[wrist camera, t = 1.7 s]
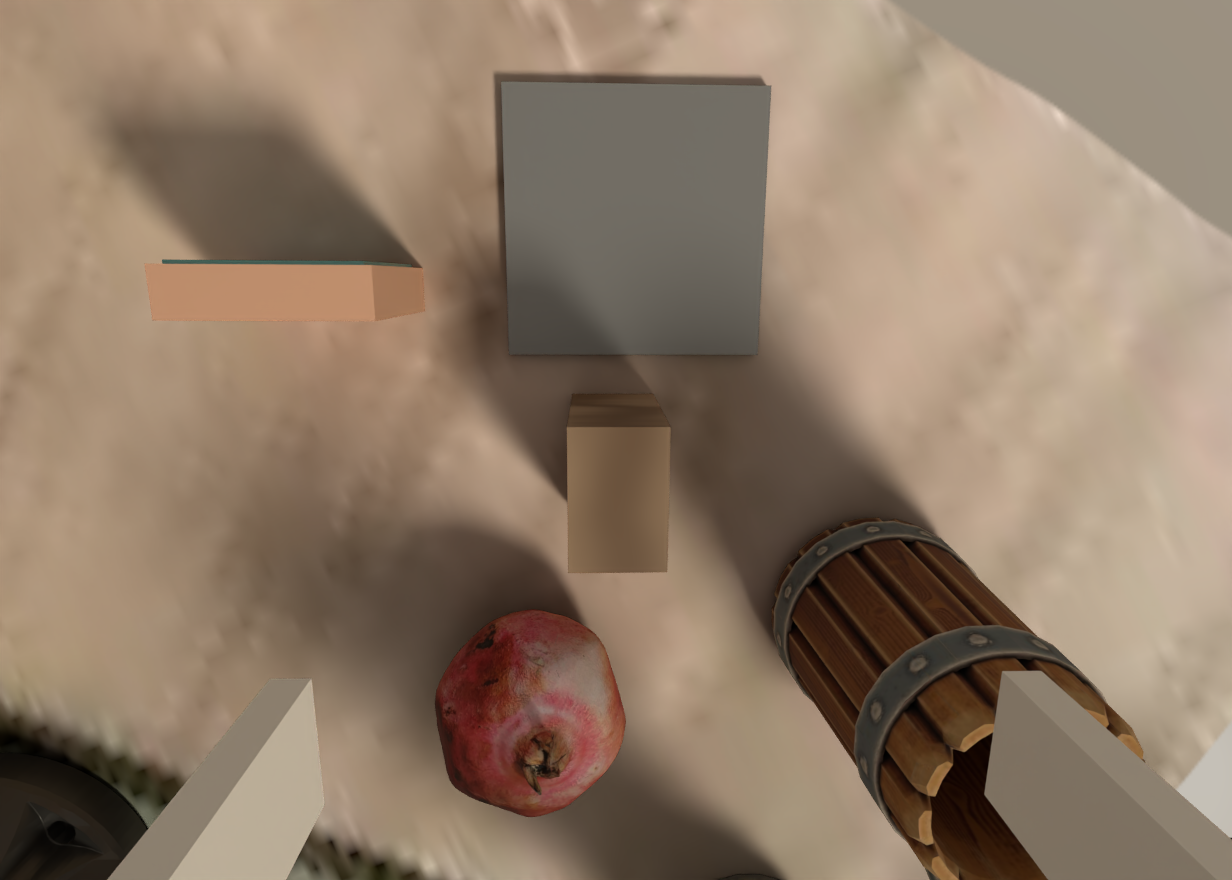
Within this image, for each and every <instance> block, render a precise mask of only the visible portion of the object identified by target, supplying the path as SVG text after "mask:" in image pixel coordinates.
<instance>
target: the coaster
mask: <svg viewBox="0 0 1232 880" xmlns="http://www.w3.org/2000/svg"><path fill="white" fill-rule="evenodd" d="M501 95H502V130H503V165H504V199H505V234H506V269H507V304H508V339H509V354H545V355H758V336H759V316H760V296H761V277H762V257H763V237H764V218H765V198H766V178H767V159H768V139H769V119H770V100H771V86H756V85H692V84H628V83H564V82H501Z"/></svg>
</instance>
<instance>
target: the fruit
mask: <svg viewBox="0 0 1232 880" xmlns="http://www.w3.org/2000/svg"><path fill="white" fill-rule="evenodd" d="M435 709H436V716H437V726H438V731H439V736H440V740H441V744H442V749H443V754H444V759H445V764H446V770H447V773H448V776H449V779H450V781H451V783H452V784H453V785H454V787H455V788H456V789H458V790H459V791H461V792H462V793H464V794H466V795H467V796H469V797H471V798H473V799H476V800H478V801H481V802H484V803H487V804H490V805H493V806H496V807H499V808H502V809H505V810H508V811H511V812H514V813H516V814H519V815H523V816H526V817H537V816H542V815H545V814H548V813H551V812H554V811H557V810H560V809H562V808H564V807H566V806H568V805H569V804H571V803H572V802H573V801H574V800H576V799H577V798H578V797H579V796H580V795H581V794H582V793H583V792H585V791H586V790H587V789H588V788H589V787H590V786H592V785H593V784H594V783H595V782H596V781H597V780H598V779H599V778H600V777H601V776H602V775H603V774H604V773H605V772H606V771H607V769H608V768H609V767H610V765H611V764H612V762H613V761H614V759H615V758H616V756H617V753H618V751H619V749H620V747H621V744H622V740H623V736H624V730H625V724H626V719H625V714H624V709H623V706H622V702H621V698H620V694H619V691H618V688H617V684H616V680H615V677H614V674H613V671H612V668H611V665H610V662H609V658H608V655H607V652H606V650H605V648H604V646H603V644H602V642H601V641H600V639H599V638H598V637H597V636H596V634H594V633H593V632H592V631H591V630H590V629H588V628H587V627H585V626H583V625H581V624H580V623H578V622H576V621H574V620H572V619H570V618H568V617H566V616H562V615H557V614H553V613H549V612H546V611H541V610H535V609H533V610H525V611H518V612H513V613H510V614H508V615H505V616H502V617H500V618H497V619H495V620H493V621H492V622H490V623H489V624H487V625H486V626H485V627H483V628H482V629H481V630H480V631H479V632H478V633H477V634H476V635H474V636H473V637H472V638H471V639H470V640H469V641H468V642H467V643H466V644H465V645H464V646H463V647H462V648H461V650H460V651H459V652H458V653H457V654H456V656H455V657H454V658H453V660H452V662H451V663H450V665H449V667H448V668H447V670H446V671H445V673H444V675H443V677H442V679H441V681H440V683H439V685H438V688H437V691H436V698H435Z"/></svg>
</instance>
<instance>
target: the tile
mask: <svg viewBox="0 0 1232 880" xmlns="http://www.w3.org/2000/svg"><path fill="white" fill-rule="evenodd" d="M162 263H163V264H145V271H146V278H147V285H148V292H149V299H150V306H151V313H152V320H175V321H379V320H384V319H389V318H394V317H399V316H404V315H408V314H413V313H418V312H423V311H425V302H424V284H423V268H412V265H410V264H397V263H383V262H370V261H287V260H162Z"/></svg>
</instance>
